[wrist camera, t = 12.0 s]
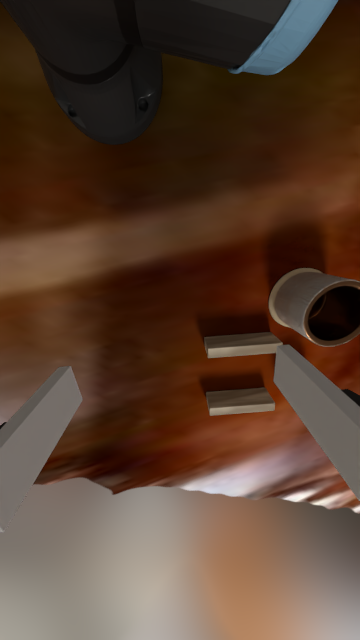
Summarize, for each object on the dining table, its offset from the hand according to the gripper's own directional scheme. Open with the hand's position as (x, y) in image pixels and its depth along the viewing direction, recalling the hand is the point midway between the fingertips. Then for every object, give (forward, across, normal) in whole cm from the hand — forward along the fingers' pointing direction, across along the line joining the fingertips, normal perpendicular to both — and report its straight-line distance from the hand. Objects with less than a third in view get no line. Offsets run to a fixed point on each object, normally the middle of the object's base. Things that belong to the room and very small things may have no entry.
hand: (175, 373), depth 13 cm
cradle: (+26, +12, -20) cm, 35 cm away
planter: (+26, +24, -5) cm, 36 cm away
